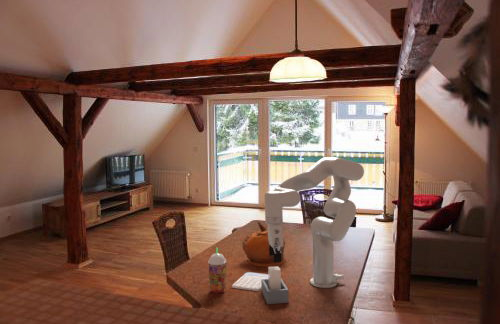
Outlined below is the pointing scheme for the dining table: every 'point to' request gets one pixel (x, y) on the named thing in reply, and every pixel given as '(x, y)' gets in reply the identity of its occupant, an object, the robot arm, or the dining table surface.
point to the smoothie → (217, 272)
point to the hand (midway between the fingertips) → (275, 258)
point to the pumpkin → (260, 249)
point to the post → (274, 278)
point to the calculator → (250, 281)
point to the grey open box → (275, 293)
